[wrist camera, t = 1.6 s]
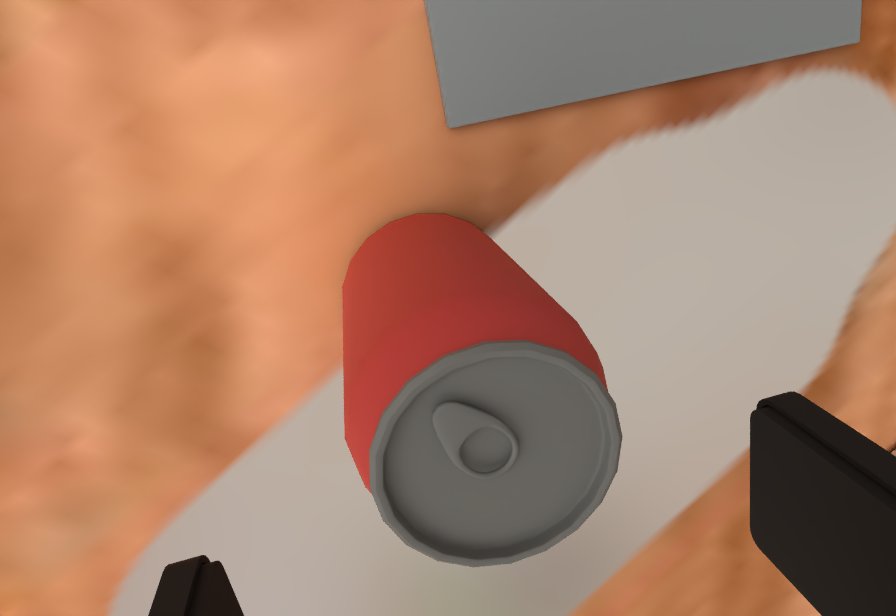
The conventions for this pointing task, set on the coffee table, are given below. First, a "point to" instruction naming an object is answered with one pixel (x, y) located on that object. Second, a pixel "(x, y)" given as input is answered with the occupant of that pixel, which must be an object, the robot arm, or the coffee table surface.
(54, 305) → the coffee table surface
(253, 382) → the coffee table surface
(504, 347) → the beer can
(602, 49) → the slate mat
